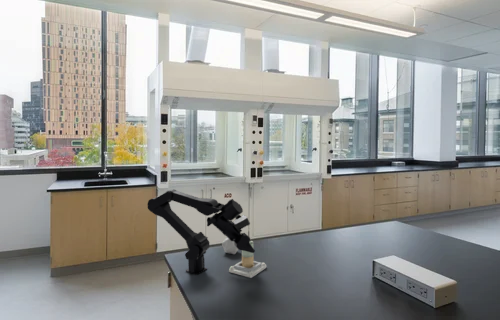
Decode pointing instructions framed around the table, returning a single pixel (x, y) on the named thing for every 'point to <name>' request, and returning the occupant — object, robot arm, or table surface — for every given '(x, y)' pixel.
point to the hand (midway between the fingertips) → (250, 248)
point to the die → (229, 246)
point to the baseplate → (247, 269)
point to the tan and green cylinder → (248, 257)
